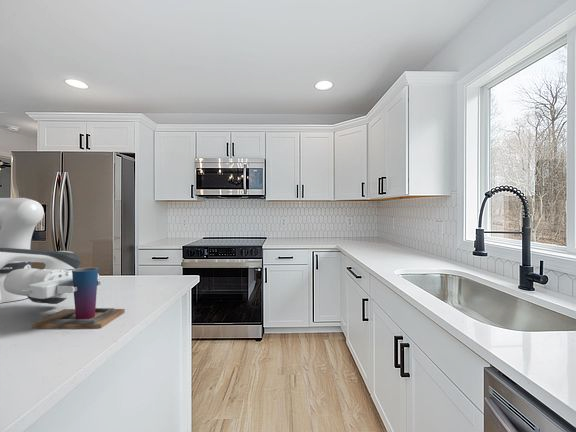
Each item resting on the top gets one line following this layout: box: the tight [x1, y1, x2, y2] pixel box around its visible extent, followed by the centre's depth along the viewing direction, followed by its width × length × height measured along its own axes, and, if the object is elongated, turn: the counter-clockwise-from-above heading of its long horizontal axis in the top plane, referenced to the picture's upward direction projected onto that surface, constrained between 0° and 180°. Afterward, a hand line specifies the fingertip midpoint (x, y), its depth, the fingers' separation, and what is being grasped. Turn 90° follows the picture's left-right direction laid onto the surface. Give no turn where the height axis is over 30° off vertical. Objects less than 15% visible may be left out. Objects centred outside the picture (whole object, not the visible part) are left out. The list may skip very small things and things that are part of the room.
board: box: [30, 307, 126, 329], centre depth 98 cm, size 20×14×2 cm
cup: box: [72, 266, 99, 319], centre depth 97 cm, size 7×7×15 cm
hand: (88, 285), depth 97 cm, fingers open, 8 cm apart
